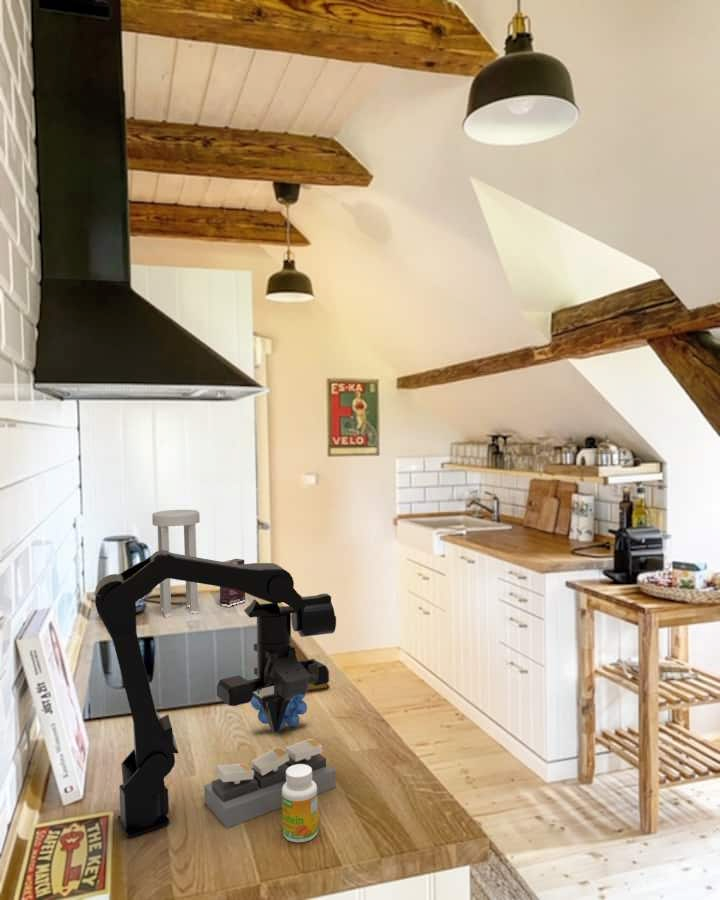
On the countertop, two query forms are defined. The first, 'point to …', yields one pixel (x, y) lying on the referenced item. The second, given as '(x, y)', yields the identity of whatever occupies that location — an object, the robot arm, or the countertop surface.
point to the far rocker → (304, 750)
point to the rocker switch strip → (261, 791)
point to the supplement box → (230, 594)
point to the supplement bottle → (299, 804)
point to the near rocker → (234, 772)
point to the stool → (189, 521)
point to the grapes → (291, 712)
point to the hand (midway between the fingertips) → (275, 731)
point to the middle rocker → (270, 761)
